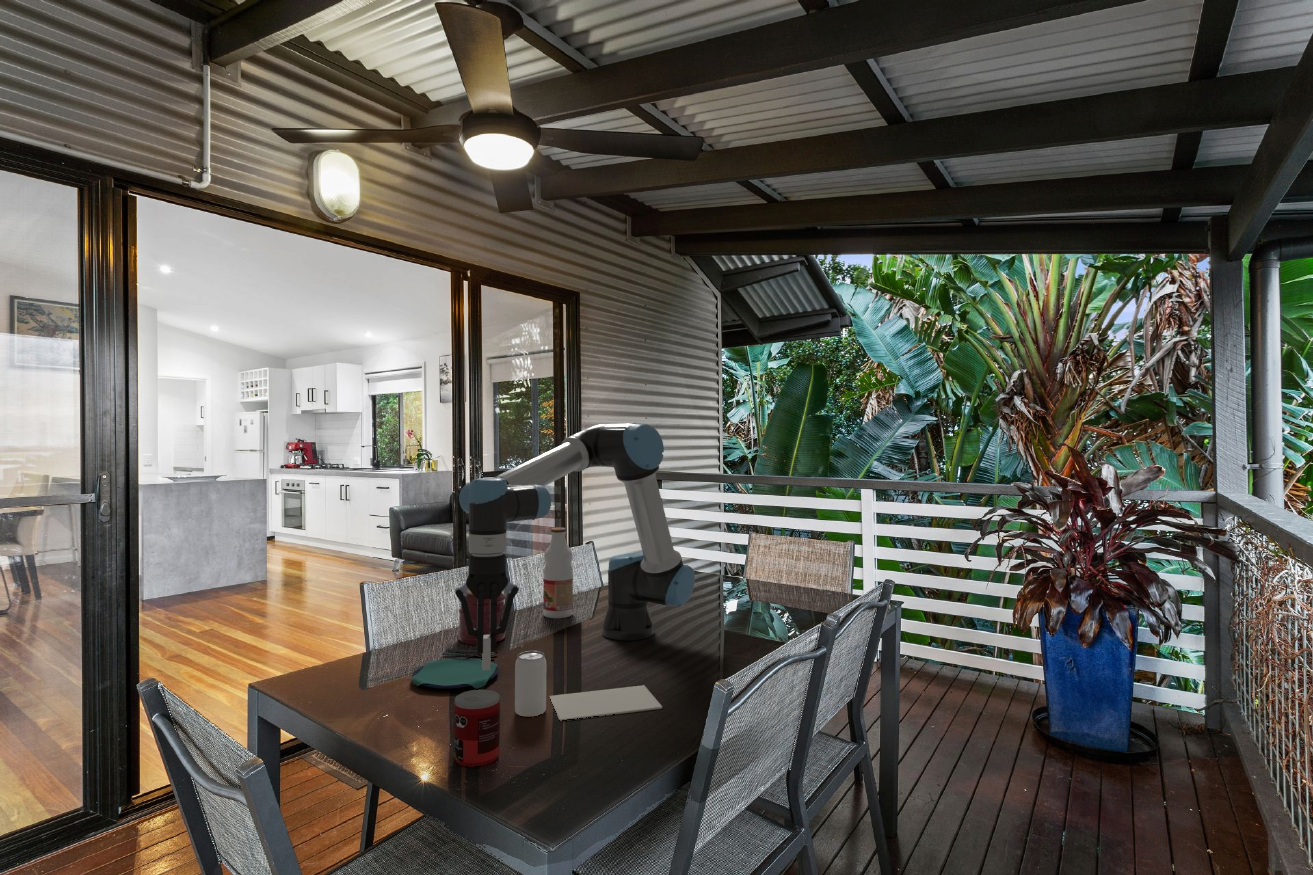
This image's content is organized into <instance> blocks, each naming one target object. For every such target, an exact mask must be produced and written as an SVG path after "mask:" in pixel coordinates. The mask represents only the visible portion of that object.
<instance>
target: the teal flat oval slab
mask: <svg viewBox="0 0 1313 875" xmlns="http://www.w3.org/2000/svg"><path fill="white" fill-rule="evenodd" d="M447 651H449V652H448V653H447ZM451 651H452V652H451ZM454 651H455V652H454ZM456 652H473V653H477V654H471V653H456ZM480 654H482V653H480ZM491 654H493V653H491ZM442 655H448V656H460V655H465V656H460V657H457V658H458V659H443V660H434V661H430V662H426V663H425V664H424V665H423V666H421V667H418V668H417V669H415V670H414V671H413V673H412V675H411V680H410V681H411V683H412V684H413V685H416V686H417V687H418V686H419V685H421V686H424V687H428V688H432V689H441V690H442V689H443V690H445V689H446V690H448V689H462V688H467V687H473V688H474V690H476V688H479V687H482V686H484V687H485V686H486V684H487V683H488V681H491V680H493V678H495V677H496V676H497V675H498V674H499V668H498V666H499V665H498V664H497V663H494V662H493V661H491V666H490V670H486V671H483V669H482V660H481V659H482V658H479V657H481V656H479V657H478V658H469V659H466V658H467V656H466V655H470V656H469V657H473V656H474V655H475V656H477V655H478V652H477V649H471V650H470V649H469V650H468V649H467V650H465V649H456V648H446V649H445V652H444V651H443V652H442ZM442 655H441V656H442ZM498 655H499V654H498ZM498 655H497V656H498ZM497 656H496V657H497ZM482 688H483V687H482Z"/></svg>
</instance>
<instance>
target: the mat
mask: <svg viewBox="0 0 1313 875" xmlns="http://www.w3.org/2000/svg"><path fill="white" fill-rule="evenodd" d="M548 697H550V698H549V700H550V699H551V701H550V702H552V703H551V705H552V704H553V705H552V707H553V706H554V707H553V709H555V710H554V712H555V711H556V712H555V714H556V713H557V714H556V716H557V718H558V720H560V721H559V722H563V721H562V720H567V719H575V720H580V719H579V718H583V719H589V718H588V717H591V718H594V717H593V716H599V717H606V716H612V715H613V714H615V715H621V714H628V713H636V712H637V713H638V712H646V711H652V710H653V711H654V710H661V709H663V706H662V704H661V703H660V702H659V701H658V700H657V699H656V697H655V696H654V695H653V694H652V693H651V692H650V689H648V687H646V686H645V684H643V685H636V686H634V685H633V686H627V687H617V688H609V689H600V690H590V691H582V692H581V691H580V692H573V693H564V694H557V695H549V696H548ZM605 715H606V716H605ZM586 717H587V718H586ZM577 718H578V719H577ZM567 721H568V720H567Z"/></svg>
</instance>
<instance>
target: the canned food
mask: <svg viewBox="0 0 1313 875" xmlns="http://www.w3.org/2000/svg"><path fill="white" fill-rule="evenodd" d="M453 705H454V706H453V707H454V708H453V710H454V711H453V712H454V714H453V715H454V716H453V722H454V724H453V725H454V726H453V727H454V730H453V733H454V734H453V736H454V738H453V739H454V741H453V746H454V747H453V748H454V749H453V752H454V753H453V756H454V759H455V761H456V763H457V764H458V765H460V766H463V767H465V766H467V768H476V767H475V766H481V767H484V765H485V766H488V765H490V764H493V762H495V761H496V760H497V759H498V758H499V755H500V747H501V745H500V743H501V742H500V741H501V739H500V738H501V735H500V733H501V732H500V731H501V728H500V727H501V726H500V725H501V724H500V723H501V722H500V721H501V698H500V694H499V693H498V692H497V691H495V690H489V689H478V690H476V689H473V690H468V691H464V692H461V693H460V694H457V695H456V696H455V698H454V704H453ZM487 764H488V765H487Z"/></svg>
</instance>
